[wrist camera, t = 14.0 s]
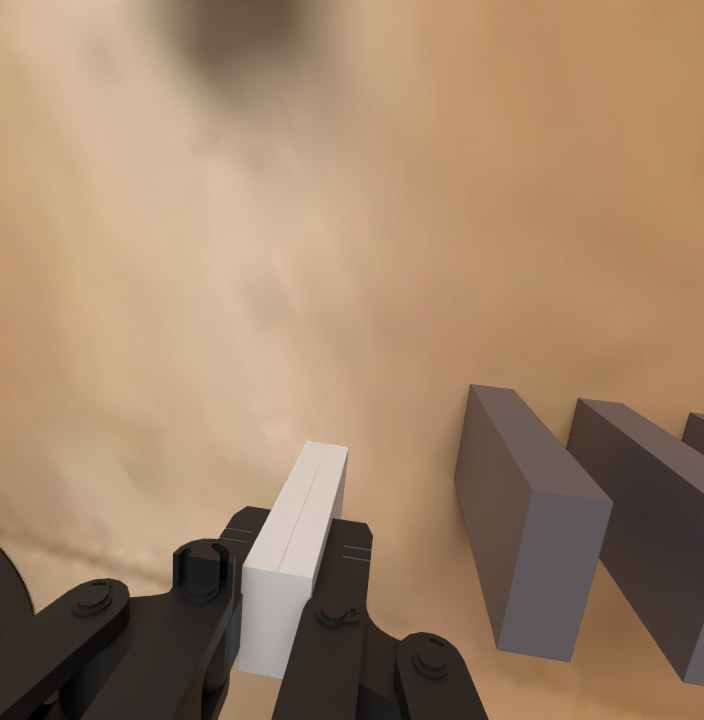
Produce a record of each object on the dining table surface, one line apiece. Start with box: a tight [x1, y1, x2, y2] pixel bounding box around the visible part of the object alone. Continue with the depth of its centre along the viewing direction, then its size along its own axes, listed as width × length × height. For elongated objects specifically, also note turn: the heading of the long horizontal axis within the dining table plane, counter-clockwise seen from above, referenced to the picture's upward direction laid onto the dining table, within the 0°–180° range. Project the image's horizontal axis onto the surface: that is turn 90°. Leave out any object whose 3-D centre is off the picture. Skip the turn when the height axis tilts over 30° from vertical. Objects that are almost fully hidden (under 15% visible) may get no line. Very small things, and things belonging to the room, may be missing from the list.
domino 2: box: [566, 398, 704, 686], centre depth 16 cm, size 2×5×10 cm, turn 173°
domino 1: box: [454, 384, 613, 662], centre depth 17 cm, size 2×5×10 cm, turn 174°
